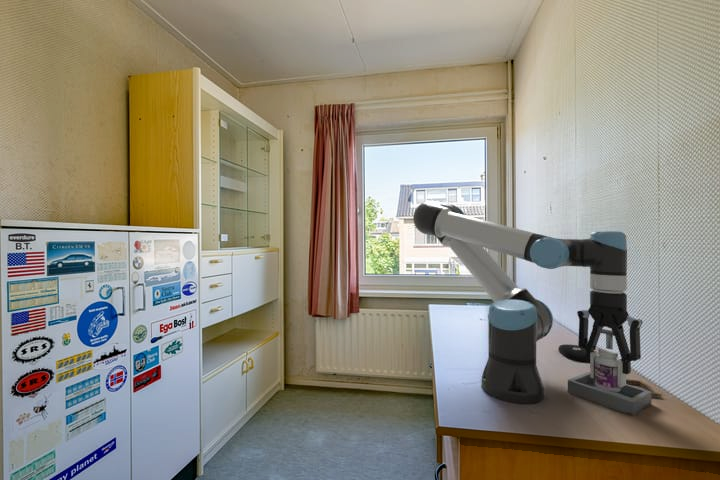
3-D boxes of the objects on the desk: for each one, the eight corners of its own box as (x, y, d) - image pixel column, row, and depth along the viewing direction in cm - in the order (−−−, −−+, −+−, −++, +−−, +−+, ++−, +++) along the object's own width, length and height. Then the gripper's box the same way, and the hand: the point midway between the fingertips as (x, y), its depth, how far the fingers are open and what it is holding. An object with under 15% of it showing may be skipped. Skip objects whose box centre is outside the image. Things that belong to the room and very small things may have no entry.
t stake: (614, 377, 95) (614, 333, 95) (590, 370, 101) (590, 328, 101) (621, 374, 97) (621, 331, 98) (597, 367, 103) (597, 326, 103)
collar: (661, 398, 83) (661, 394, 83) (622, 394, 85) (622, 390, 85) (641, 384, 91) (641, 380, 91) (606, 380, 93) (606, 377, 93)
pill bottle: (589, 385, 84) (589, 348, 84) (603, 382, 86) (603, 346, 86) (612, 394, 79) (612, 355, 79) (626, 391, 81) (626, 352, 81)
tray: (632, 416, 74) (632, 402, 74) (567, 391, 86) (567, 380, 86) (651, 404, 79) (651, 391, 79) (587, 382, 91) (587, 372, 91)
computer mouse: (568, 361, 109) (568, 350, 109) (556, 350, 120) (556, 339, 120) (594, 364, 107) (594, 352, 107) (578, 352, 119) (578, 341, 119)
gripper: (660, 295, 77) (660, 392, 77) (576, 286, 93) (576, 366, 92) (647, 297, 73) (647, 399, 73) (562, 287, 89) (562, 371, 88)
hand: (607, 381), depth 83 cm, fingers closed on pill bottle, 5 cm apart
